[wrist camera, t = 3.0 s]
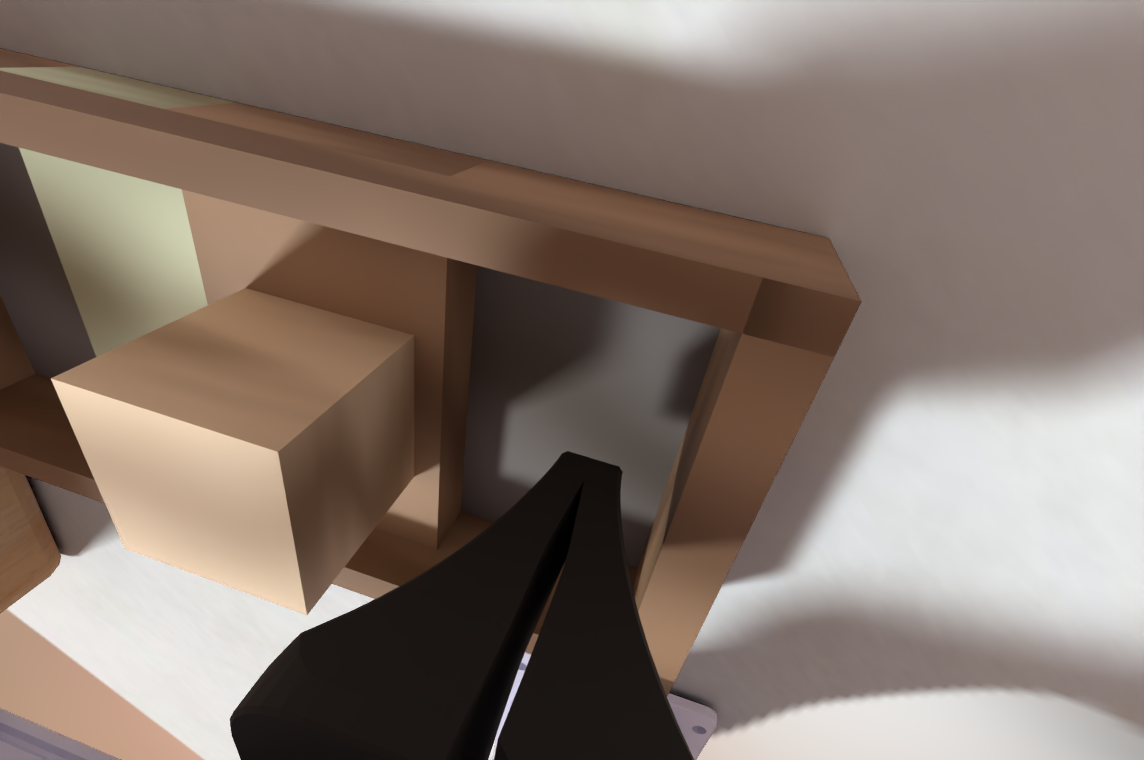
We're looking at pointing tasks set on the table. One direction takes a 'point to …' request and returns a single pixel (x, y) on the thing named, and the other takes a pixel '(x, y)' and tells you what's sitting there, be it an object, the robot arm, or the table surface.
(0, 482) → the wooden block
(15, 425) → the box
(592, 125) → the table surface
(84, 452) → the maple block
